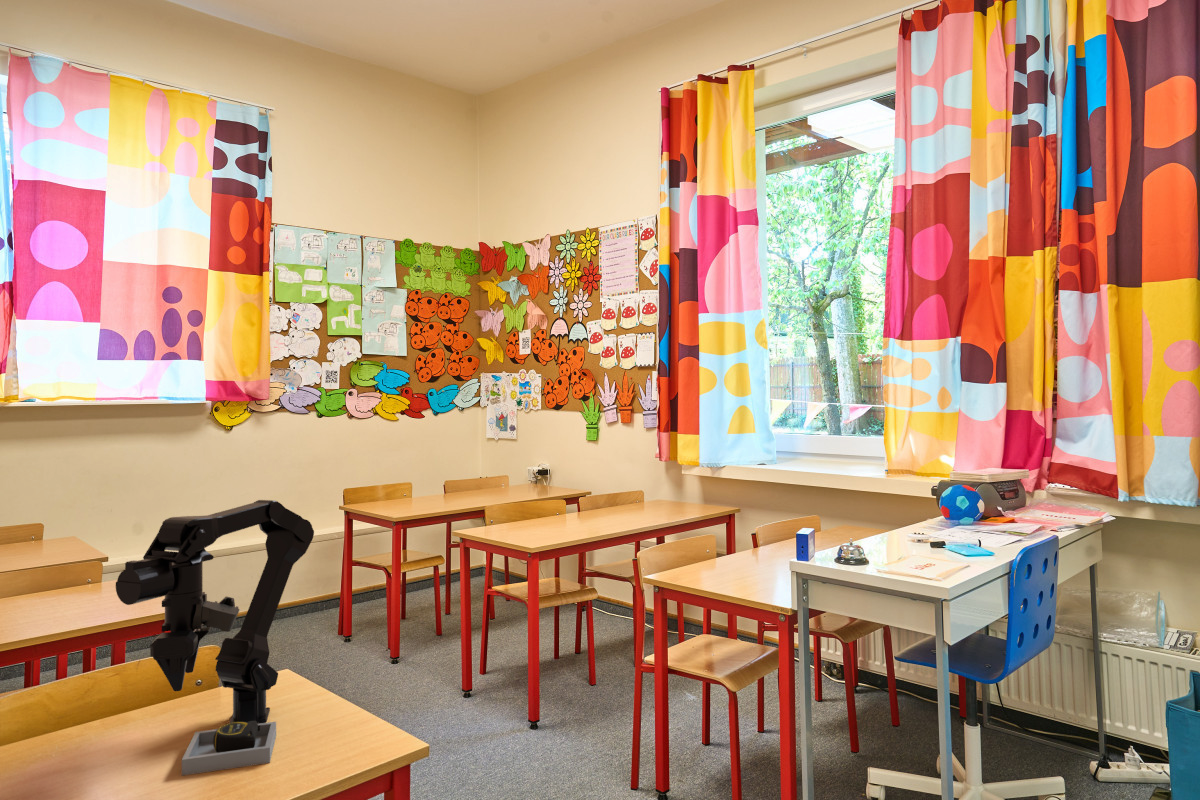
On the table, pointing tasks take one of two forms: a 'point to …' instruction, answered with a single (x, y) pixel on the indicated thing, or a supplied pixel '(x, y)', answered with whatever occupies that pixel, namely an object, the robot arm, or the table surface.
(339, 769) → the table surface
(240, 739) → the tape measure
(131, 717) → the table surface
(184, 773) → the tray
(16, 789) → the table surface
